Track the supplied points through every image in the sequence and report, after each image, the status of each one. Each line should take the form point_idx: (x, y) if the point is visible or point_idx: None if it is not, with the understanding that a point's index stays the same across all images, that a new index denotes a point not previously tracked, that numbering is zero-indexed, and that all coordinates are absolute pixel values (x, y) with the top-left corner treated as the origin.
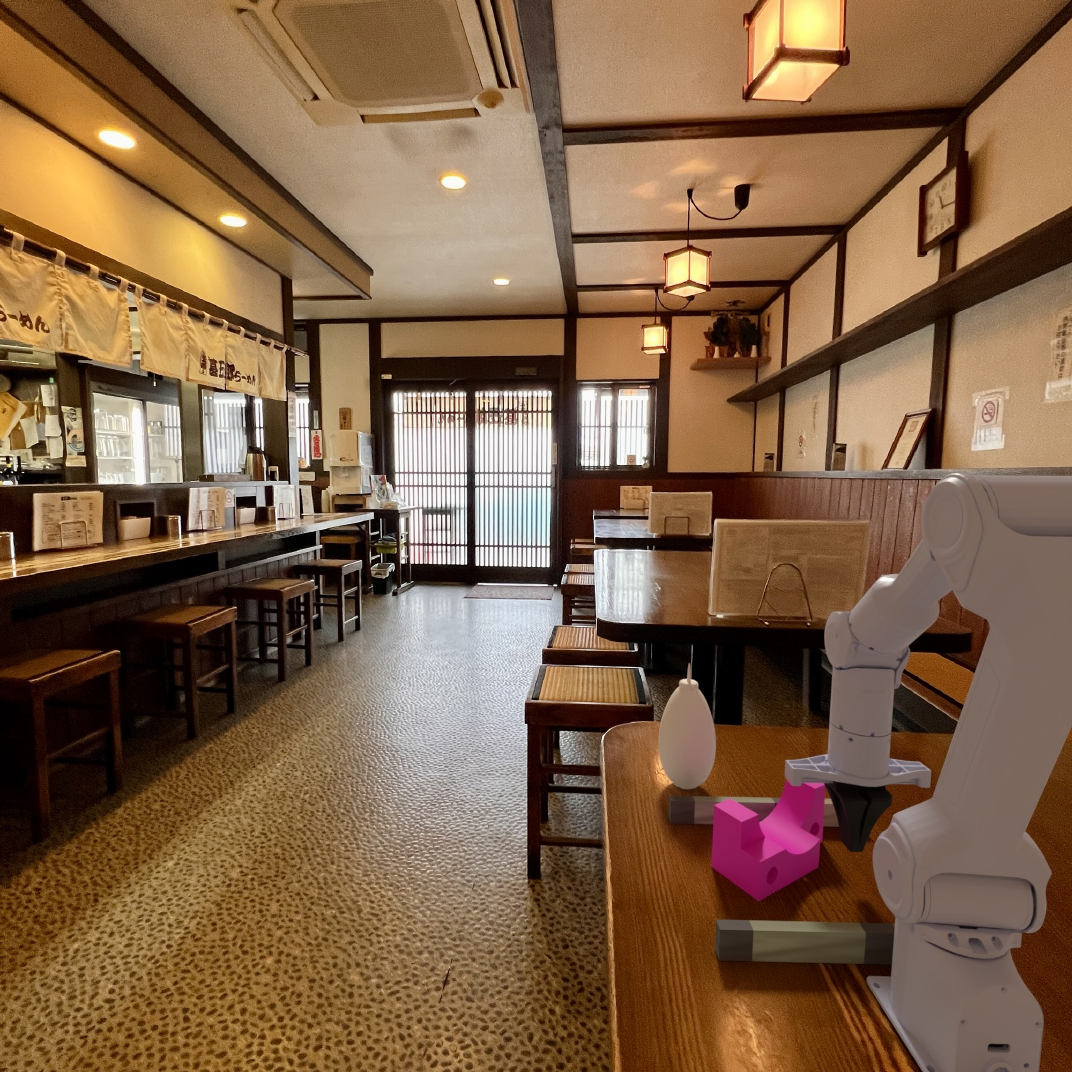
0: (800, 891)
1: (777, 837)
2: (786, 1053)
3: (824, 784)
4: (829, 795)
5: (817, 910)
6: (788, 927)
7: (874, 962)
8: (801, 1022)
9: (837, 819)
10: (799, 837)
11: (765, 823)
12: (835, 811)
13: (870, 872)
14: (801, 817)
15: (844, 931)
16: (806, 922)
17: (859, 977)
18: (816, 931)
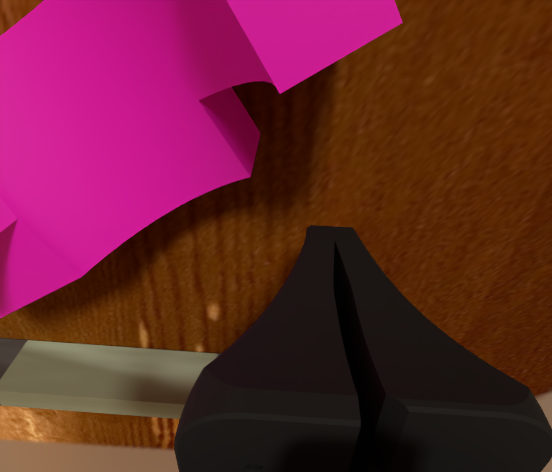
0: (168, 221)
1: (103, 122)
2: (67, 437)
3: (219, 355)
4: (252, 325)
5: (187, 272)
6: (66, 405)
7: None
8: (93, 418)
9: (296, 261)
10: (185, 137)
11: (65, 19)
12: (285, 282)
13: (410, 161)
14: (213, 70)
15: (169, 416)
16: (103, 400)
17: None
18: (117, 413)
